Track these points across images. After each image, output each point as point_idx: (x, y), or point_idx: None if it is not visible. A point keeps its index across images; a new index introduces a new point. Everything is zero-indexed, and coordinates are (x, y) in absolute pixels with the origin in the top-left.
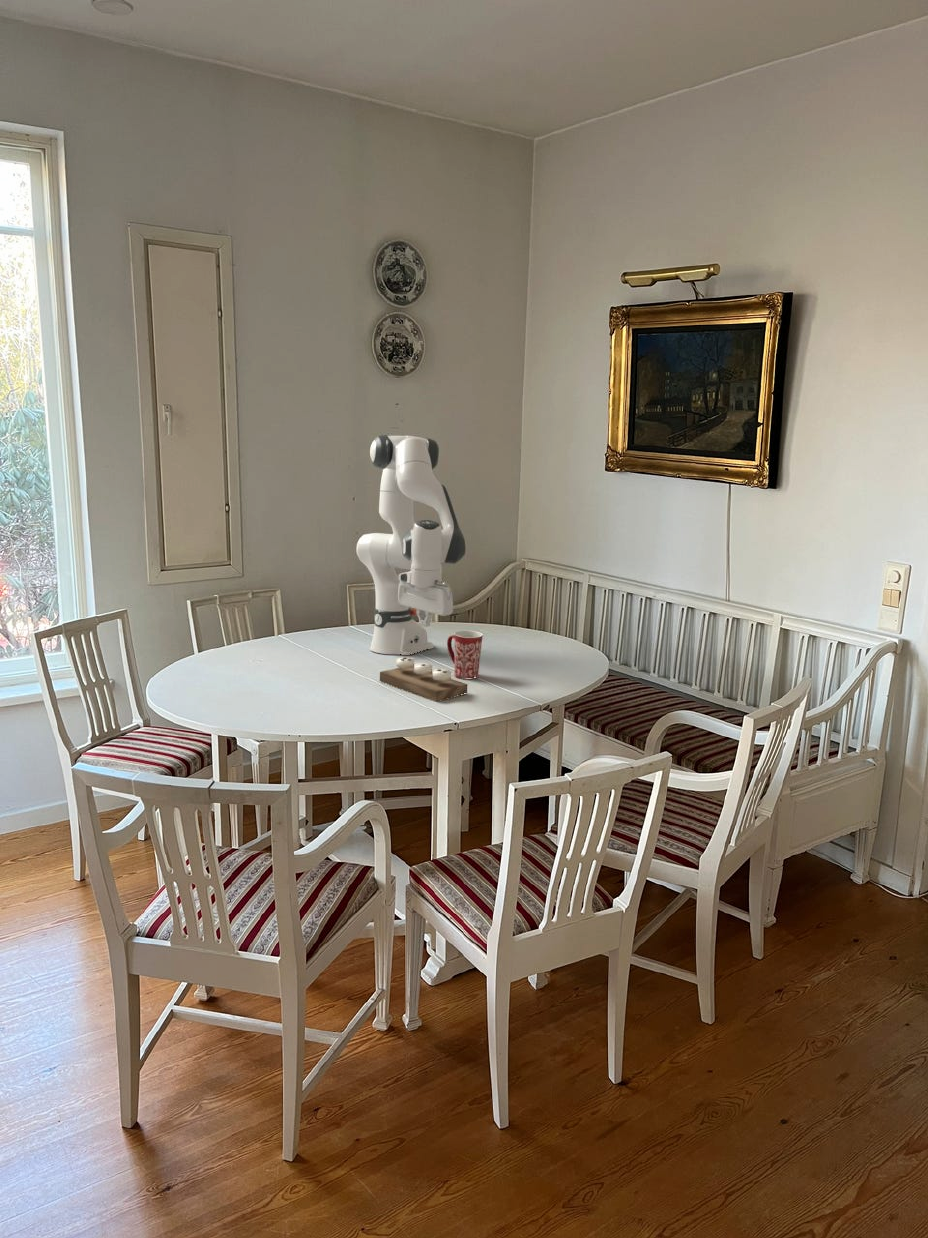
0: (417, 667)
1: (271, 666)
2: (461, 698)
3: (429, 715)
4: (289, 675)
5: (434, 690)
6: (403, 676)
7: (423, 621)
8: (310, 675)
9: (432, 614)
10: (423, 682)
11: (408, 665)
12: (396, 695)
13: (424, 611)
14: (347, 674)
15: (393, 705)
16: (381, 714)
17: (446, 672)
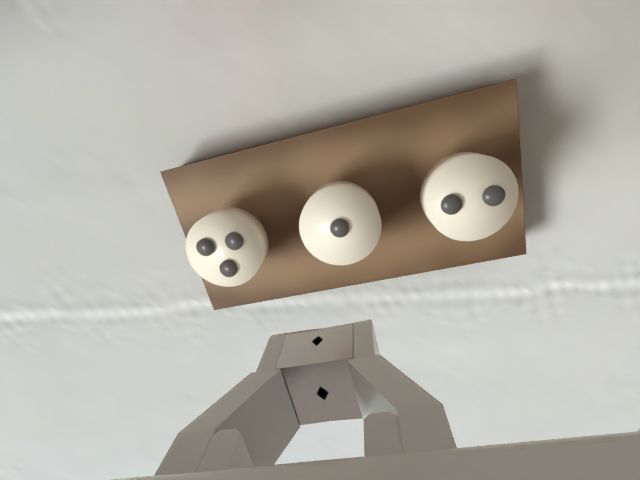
0: (353, 262)
1: (27, 452)
2: (526, 134)
3: (609, 322)
4: (112, 450)
5: (510, 254)
6: (295, 267)
7: (350, 407)
8: (121, 415)
9: (446, 427)
10: (397, 239)
11: (265, 250)
12: (380, 313)
13: (241, 452)
14: (129, 338)
15: (463, 361)
16: (514, 417)
17: (503, 190)
